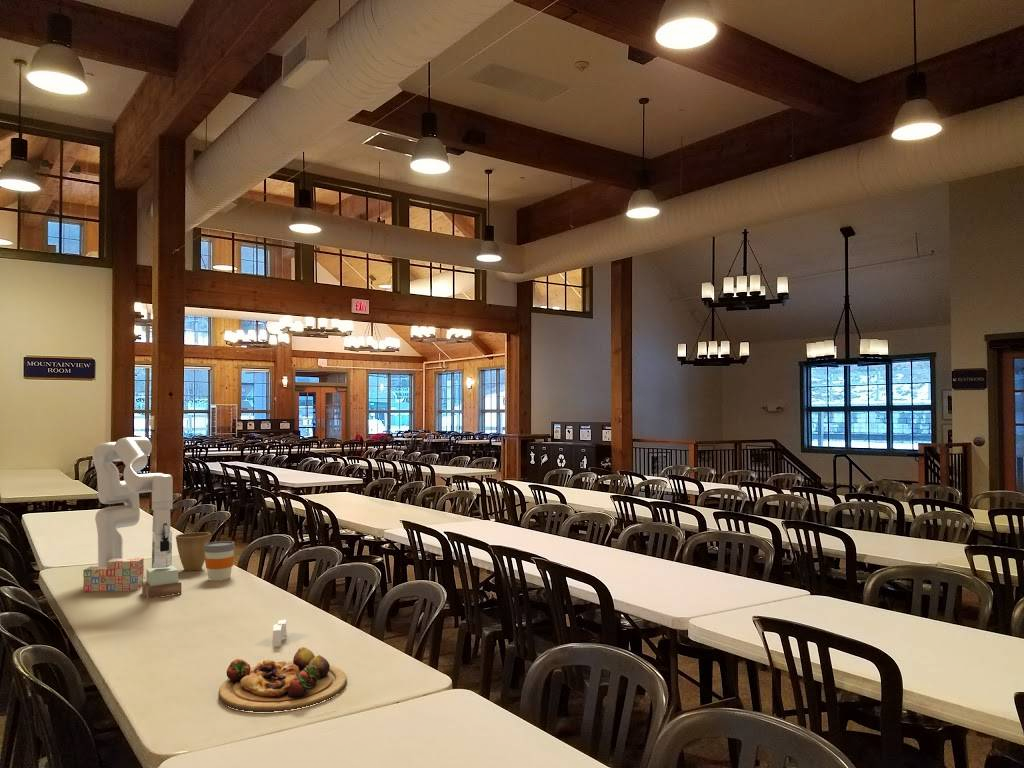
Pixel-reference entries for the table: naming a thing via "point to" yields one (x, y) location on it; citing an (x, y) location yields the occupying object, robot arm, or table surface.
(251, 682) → the wooden plate with food
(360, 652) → the table surface
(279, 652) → the table surface
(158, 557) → the syrup box
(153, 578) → the tower top block
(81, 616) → the table surface
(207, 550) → the reusable coffee cup
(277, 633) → the napkin holder
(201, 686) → the table surface
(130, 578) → the stack of blocks
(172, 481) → the robot arm
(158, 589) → the tower base block
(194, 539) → the plant pot
